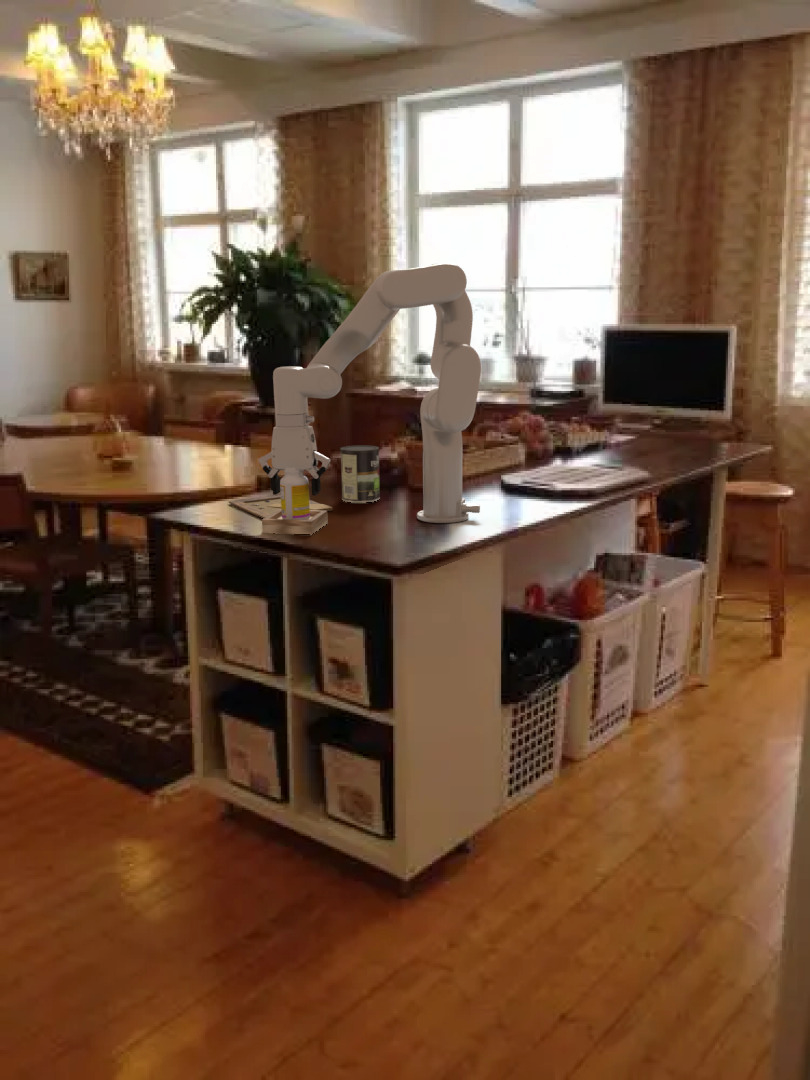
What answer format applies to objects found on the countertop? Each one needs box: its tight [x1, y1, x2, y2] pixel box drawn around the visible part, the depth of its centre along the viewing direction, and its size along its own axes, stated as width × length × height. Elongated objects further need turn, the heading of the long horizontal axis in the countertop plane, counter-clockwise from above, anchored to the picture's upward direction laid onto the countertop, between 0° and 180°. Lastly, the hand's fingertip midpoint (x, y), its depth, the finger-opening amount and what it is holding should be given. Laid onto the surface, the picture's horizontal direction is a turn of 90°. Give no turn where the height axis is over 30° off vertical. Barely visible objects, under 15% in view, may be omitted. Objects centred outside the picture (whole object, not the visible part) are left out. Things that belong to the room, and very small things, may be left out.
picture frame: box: [228, 494, 333, 519], centre depth 253 cm, size 19×2×24 cm
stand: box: [261, 509, 329, 536], centre depth 230 cm, size 12×12×3 cm
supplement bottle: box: [280, 467, 310, 520], centre depth 228 cm, size 7×7×13 cm
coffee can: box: [339, 444, 381, 504], centre depth 260 cm, size 10×10×14 cm
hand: (296, 494), depth 228 cm, fingers open, 9 cm apart
